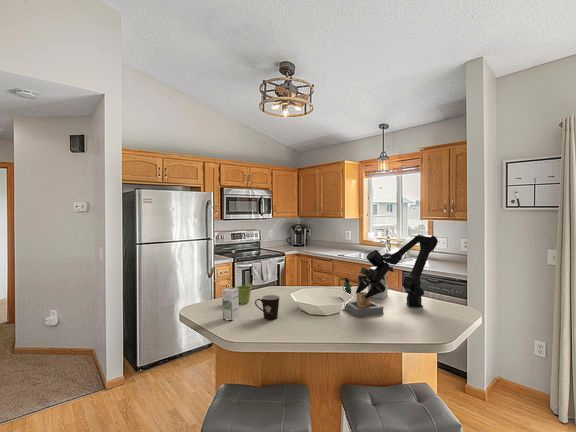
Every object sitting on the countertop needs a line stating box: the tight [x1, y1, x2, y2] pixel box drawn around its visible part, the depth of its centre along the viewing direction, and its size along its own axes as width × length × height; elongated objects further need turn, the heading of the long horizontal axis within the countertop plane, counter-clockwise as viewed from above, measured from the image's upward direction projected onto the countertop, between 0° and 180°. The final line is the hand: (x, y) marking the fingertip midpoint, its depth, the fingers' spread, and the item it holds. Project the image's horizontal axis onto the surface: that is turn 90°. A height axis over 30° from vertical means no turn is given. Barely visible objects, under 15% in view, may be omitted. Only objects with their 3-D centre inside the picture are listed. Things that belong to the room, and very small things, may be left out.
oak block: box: [355, 291, 371, 308], centre depth 164 cm, size 5×5×9 cm
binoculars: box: [343, 277, 353, 295], centre depth 193 cm, size 9×11×10 cm
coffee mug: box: [254, 294, 280, 321], centre depth 156 cm, size 12×9×10 cm
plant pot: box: [234, 285, 253, 304], centre depth 182 cm, size 9×9×9 cm
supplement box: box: [367, 266, 389, 300], centre depth 192 cm, size 10×9×17 cm
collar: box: [344, 300, 384, 318], centre depth 164 cm, size 14×14×4 cm
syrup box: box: [221, 287, 240, 321], centre depth 154 cm, size 6×6×14 cm
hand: (360, 295), depth 163 cm, fingers open, 9 cm apart
